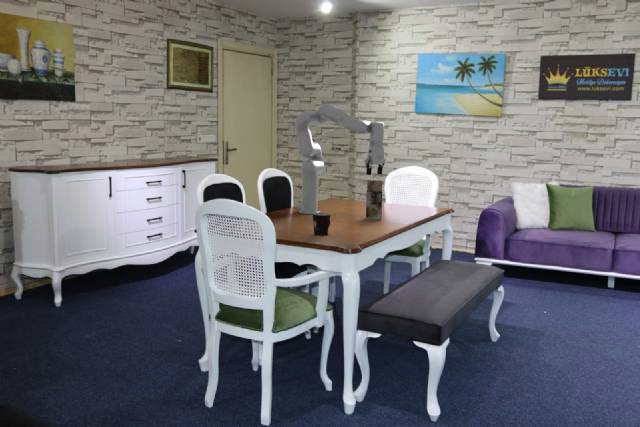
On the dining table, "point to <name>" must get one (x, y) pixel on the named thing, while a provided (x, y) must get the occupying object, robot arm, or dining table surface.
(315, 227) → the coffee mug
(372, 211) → the coffee box
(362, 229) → the dining table surface
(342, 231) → the dining table surface
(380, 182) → the walnut block
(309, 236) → the dining table surface
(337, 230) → the dining table surface
